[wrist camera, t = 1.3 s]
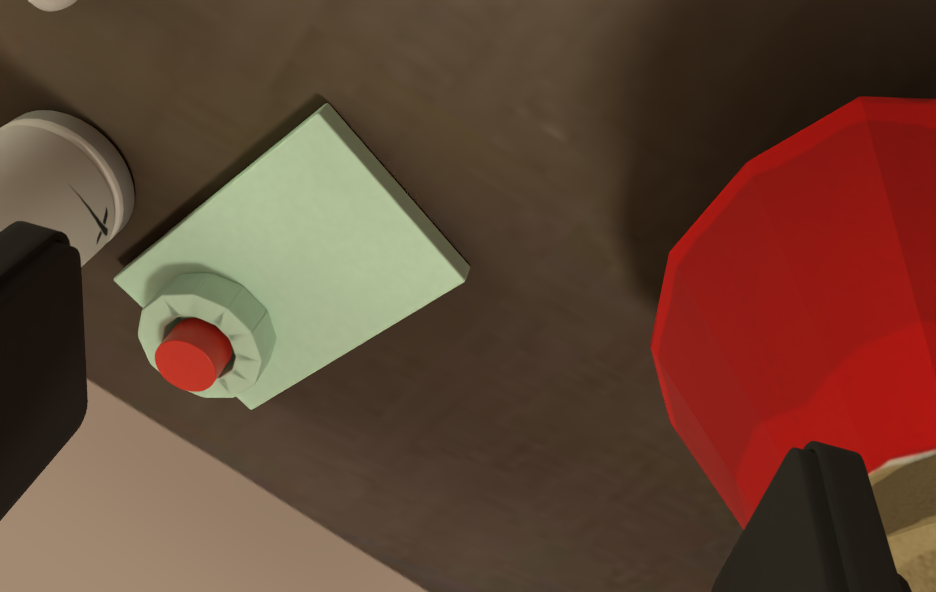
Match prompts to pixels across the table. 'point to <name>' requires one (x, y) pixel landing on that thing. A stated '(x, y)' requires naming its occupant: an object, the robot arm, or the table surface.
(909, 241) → the bottle
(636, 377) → the table surface
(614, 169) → the table surface
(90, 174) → the travel mug
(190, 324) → the button
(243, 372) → the scale
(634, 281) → the table surface
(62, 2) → the toy character
